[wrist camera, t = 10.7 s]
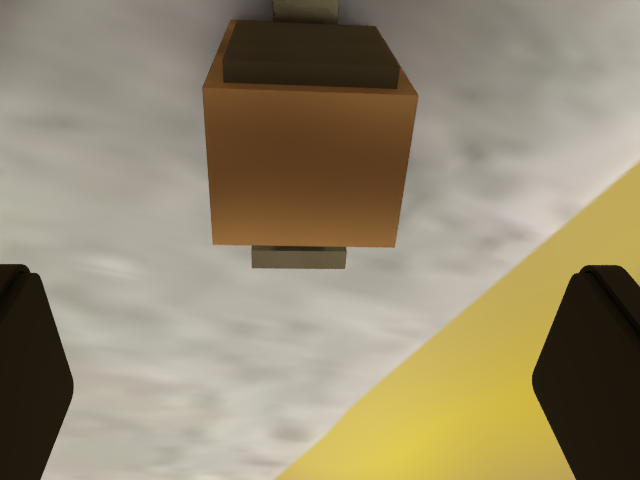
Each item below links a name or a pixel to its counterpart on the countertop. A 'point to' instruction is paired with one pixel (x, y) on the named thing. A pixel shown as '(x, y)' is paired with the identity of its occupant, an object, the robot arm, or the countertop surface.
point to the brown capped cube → (306, 136)
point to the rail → (310, 8)
